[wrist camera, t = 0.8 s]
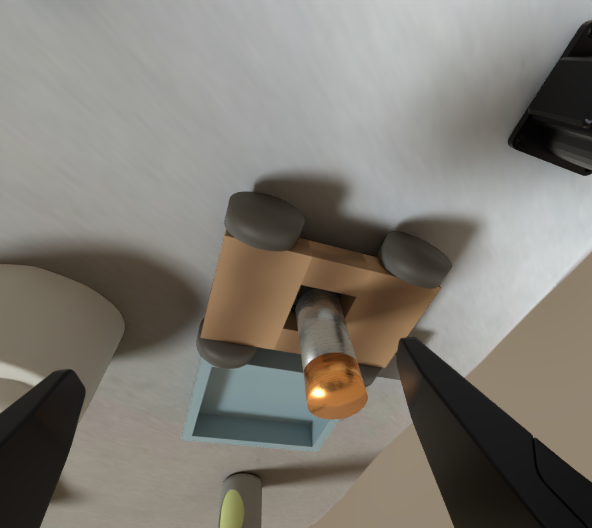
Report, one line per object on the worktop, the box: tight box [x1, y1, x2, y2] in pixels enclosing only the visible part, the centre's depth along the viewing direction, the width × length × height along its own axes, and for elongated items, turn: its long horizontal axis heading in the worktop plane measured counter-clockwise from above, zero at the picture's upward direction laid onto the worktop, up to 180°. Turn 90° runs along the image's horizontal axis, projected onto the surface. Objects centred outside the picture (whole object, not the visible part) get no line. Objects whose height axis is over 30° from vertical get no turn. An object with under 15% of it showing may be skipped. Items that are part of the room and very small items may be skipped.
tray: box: [181, 347, 339, 452], centre depth 29 cm, size 13×11×3 cm
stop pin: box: [294, 285, 368, 419], centre depth 20 cm, size 3×3×10 cm
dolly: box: [196, 192, 452, 387], centre depth 23 cm, size 17×12×4 cm
